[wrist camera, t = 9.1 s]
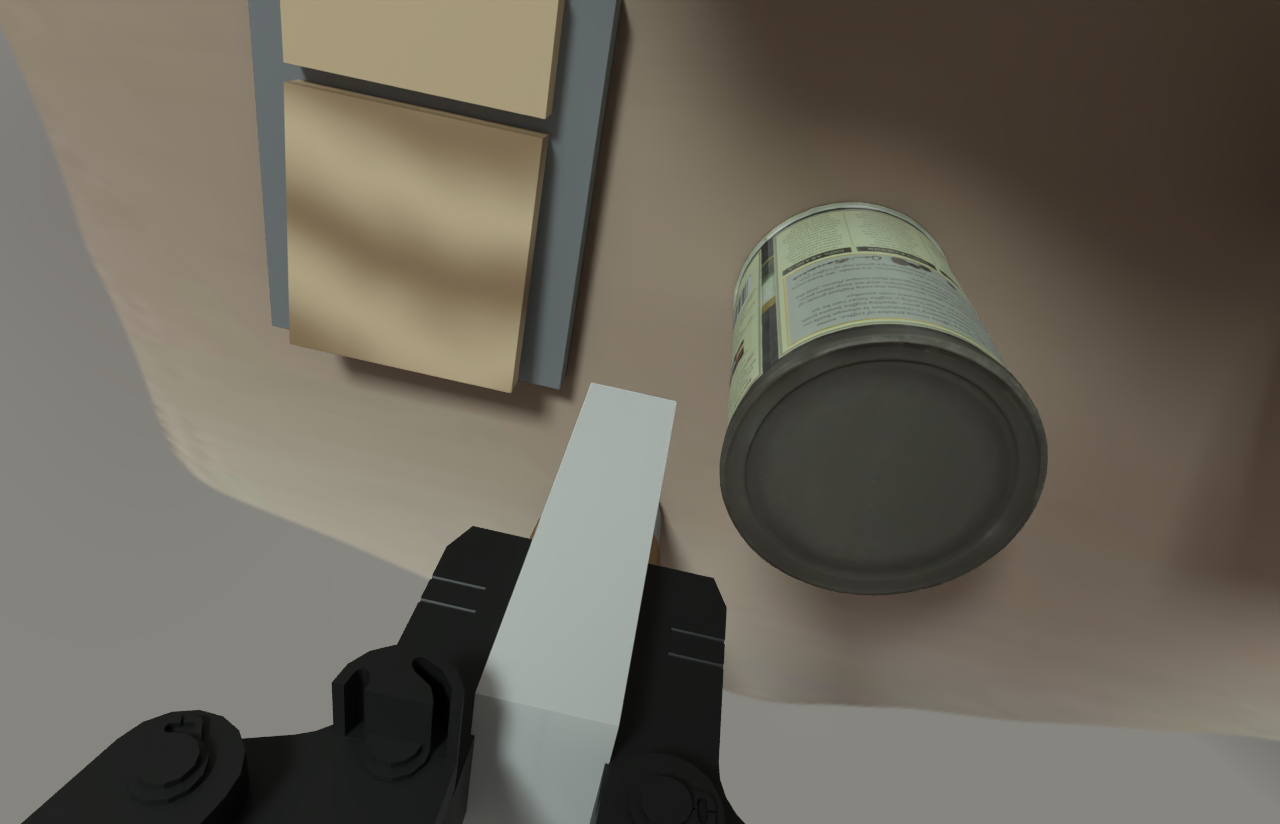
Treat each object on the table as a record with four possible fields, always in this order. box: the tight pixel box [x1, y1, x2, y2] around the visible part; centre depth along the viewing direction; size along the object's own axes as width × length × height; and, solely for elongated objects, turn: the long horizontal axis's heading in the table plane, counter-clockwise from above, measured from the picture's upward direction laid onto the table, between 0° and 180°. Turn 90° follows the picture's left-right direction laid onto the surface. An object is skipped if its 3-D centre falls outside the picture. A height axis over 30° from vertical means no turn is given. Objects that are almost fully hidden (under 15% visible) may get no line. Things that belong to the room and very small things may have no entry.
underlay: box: [248, 0, 621, 390], centre depth 36 cm, size 18×15×3 cm
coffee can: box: [720, 202, 1048, 595], centre depth 32 cm, size 10×10×14 cm
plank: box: [284, 79, 549, 393], centre depth 37 cm, size 12×11×1 cm
